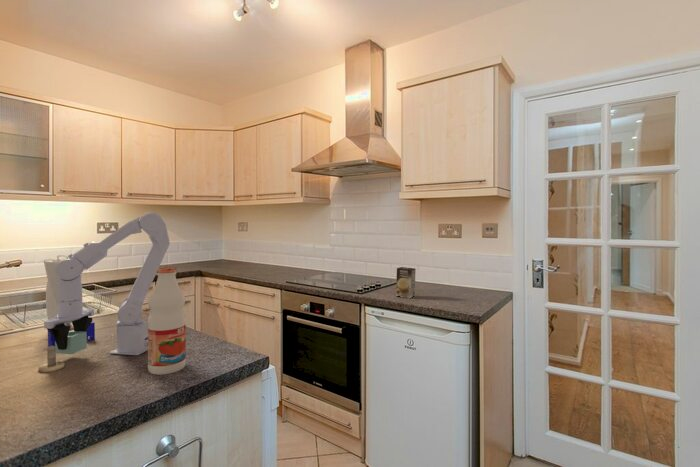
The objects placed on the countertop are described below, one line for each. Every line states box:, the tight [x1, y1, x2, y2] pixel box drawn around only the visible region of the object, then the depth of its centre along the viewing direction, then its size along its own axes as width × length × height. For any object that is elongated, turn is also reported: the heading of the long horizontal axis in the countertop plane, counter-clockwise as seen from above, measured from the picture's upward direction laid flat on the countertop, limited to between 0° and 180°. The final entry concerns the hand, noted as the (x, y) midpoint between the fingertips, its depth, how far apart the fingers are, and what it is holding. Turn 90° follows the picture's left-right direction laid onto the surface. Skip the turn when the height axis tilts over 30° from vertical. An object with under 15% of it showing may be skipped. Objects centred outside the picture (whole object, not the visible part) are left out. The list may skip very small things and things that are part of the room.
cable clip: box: [47, 321, 96, 348], centre depth 120 cm, size 12×4×6 cm, turn 142°
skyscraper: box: [43, 254, 74, 331], centre depth 135 cm, size 8×8×28 cm
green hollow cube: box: [55, 330, 88, 355], centre depth 107 cm, size 5×5×5 cm
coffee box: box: [395, 266, 417, 299], centre depth 202 cm, size 9×6×16 cm
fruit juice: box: [147, 266, 187, 376], centre depth 101 cm, size 9×9×28 cm
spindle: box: [37, 346, 66, 373], centre depth 100 cm, size 6×6×6 cm
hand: (71, 345), depth 107 cm, fingers closed on green hollow cube, 5 cm apart
